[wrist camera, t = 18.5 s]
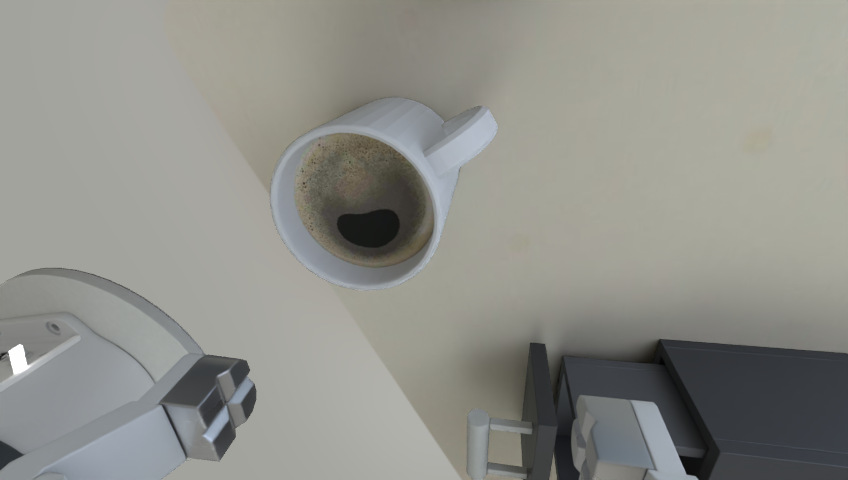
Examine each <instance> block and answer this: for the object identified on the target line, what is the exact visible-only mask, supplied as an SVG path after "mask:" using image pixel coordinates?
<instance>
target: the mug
mask: <svg viewBox="0 0 848 480" xmlns="http://www.w3.org/2000/svg"><path fill="white" fill-rule="evenodd" d="M497 128H498V126H497V124H496V122H495V120H494V118H493V116H492V114H491V113H490V111H489V109H488V107H484V106H477V107H474V108H471V109H469V110H467V111H465V112H463V113H461V114H459V115H457V116H456V117H454V118H452V119H450V120H449V121H447V122H444V121H443V120H442V119H441V118H440V116H439V115H438V114H436V113H435V112H434V111H432V110H431V109H430V108H428V107H427V106H425V105H423V104H421V103H419V102H416V101H413V100H410V99H405V98H397V97H389V98H383V99H378V100H375V101H373V102H370V103H368V104H366V105H364V106H361V107H359V108H357V109H355V110H353V111H351V112H349V113H347V114H344V115H342V116H340V117H338V118H336V119H334V120H332V121H330V122H328V123H325V124H323V125H321V126H319V127H317V128H315V129H313V130H311V131H309V132H307V133H305V134H304V135H302V136H300V137H299V138H297V139H296V140H295V141H294V142H293V143H292V144H290V145H289V146H288V148H287V149H286V150H285V151H284V153H283V154H282V155H281V157H280V159H279V161H278V163H277V165H276V166H275V169H274V173H273V176H272V179H271V186H270V207H271V212H272V217H273V220H274V223H275V226H276V228H277V231H278V233H279V235H280V237H281V239H282V241H283V242H284V244H285V245H286V247H287V248H288V249H289V251H290V252H291V253H292V254H293V255H294V257H295V258H296V259H297V260H298V261H299V262H300V263H301V264H302V265H304V266H305V267H306V268H307V269H308V270H310V271H311V272H313V273H314V274H316V275H317V276H319V277H320V278H322V279H324V280H326V281H328V282H330V283H333V284H336V285H338V286H341V287H345V288H349V289H354V290H365V291H369V290H381V289H386V288H391V287H393V286H396V285H399V284H401V283H403V282H405V281H407V280H409V279H410V278H412V277H413V276H415V275H416V274H417V273H418V272H420V271H421V270H422V269H423V268H424V267H425V265H426V264H427V263H428V262H429V261H430V259H431V257H432V256H433V254H434V252H435V251H436V248H437V245H438V243H439V240H440V237H441V233H442V230H443V227H444V223H445V220H446V217H447V213H448V210H449V207H450V203H451V200H452V197H453V193H454V190H455V187H456V183H457V180H458V175H459V168H460V167H461V166H462V165H464V164H465V163H467V162H468V161H469V160H471V159H472V158H473V157H475V156H476V155H477V154H478V153H480V152H481V151H482V150H483V149H484V148H485V147H486V146H487V145H488V144H489V143H490V142H491V141H492V139H493V138H494V136H495V134H496V131H497Z"/></svg>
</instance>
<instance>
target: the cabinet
mask: <svg viewBox="0 0 848 480" xmlns="http://www.w3.org/2000/svg"><path fill="white" fill-rule="evenodd" d="M653 364H658V365H666V366H667V368H668V370H669V372H670V374H671V376H672V378H673V380H674V381H675V383H676V385H677V387H678V389H679V391H680V393H681V395H682V397H683V399H684V401H685V403H686V405H687V407H688V409H689V411H690V413H691V414H692V416H693V418H694V420H695V422H696V424H697V426H698V428H699V430H700V432H701V434H702V436H703V438H704V440H705V442H706V444H707V446H708V448H710V449H709V451H708V453H707V456H706V458H705V461H704V463H703V465H702V468H701V470H700V472H699V475H698V477H697V478H698V479H699V480H848V354H844V353H831V352H818V351H805V350H793V349H780V348H767V347H754V346H741V345H728V344H715V343H702V342H689V341H676V340H663V339H660V340H659V343H658V347H657V350H656V354H655V357H654V361H653Z"/></svg>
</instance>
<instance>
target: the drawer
mask: <svg viewBox="0 0 848 480" xmlns="http://www.w3.org/2000/svg"><path fill="white" fill-rule="evenodd" d="M580 395H586V396H597V397H607V398H618V399H626V400H637V401H647V402H654V404H655V405H656V406H657V407H658V409H659V412H660V414H661V416H662V418H663V421H664V423H665V425H666V428H667V430H668V432H669V435H670V437H671V439H672V442H673V444H674V446H675V449H676V451H677V453H678V456H679V458H680V460H681V463H682V465H683V467H684V470H685V472H686V474H687V475H692V476H696V477H698V475H699V472H700V470H701V468H702V465H703V463H704V461H705V458H706V456H707V453H708V451H709V449H710V448H708V446H707V444H706V442H705V440H704V438H703V436H702V434H701V432H700V430H699V428H698V426H697V424H696V422H695V420H694V418H693V416H692V414H691V413H690V411H689V409H688V407H687V405H686V403H685V401H684V399H683V397H682V395H681V393H680V391H679V389H678V387H677V385H676V383H675V381H674V380H673V378H672V376H671V374H670V372H669V370H668V368H667V366H666V365H658V364H647V363H635V362H624V361H612V360H601V359H589V358H578V357H566V356H563V359H562V366H561V372H560V379H559V385H558V392H557V398H556V405H555V406H554V400H553V393H552V386H551V380H550V373H549V367H548V360H547V353H546V347H545V344H540V343H530V347H529V357H528V366H527V376H526V386H525V395H524V405H523V414H522V421H515V420H507V419H498V418H490V417H489V415H488V413H487V412H486V411H484V410H482V409H473V410H471V411H470V412H469V414H468V417H467V474H468V475H469V477H471V478H472V479H474V480H481V479H483V478H484V477H485V476H486V474H492V475H500V476H507V477H514V478H521V479H523V480H549V477H550V471H551V465H552V458H553V452H554V458H555V466H556V473H557V480H579V476H580V472H579V471H578V470H577V469H576V467H575V466H574V463H573V456H572V447H571V435H572V426H573V421H574V420H575V419H576V418H578V415H577V409H576V404H577V400H578V397H579V396H580ZM489 428H490V430H499V431H507V432H515V433H521V448H522V466H523V467H519V466H511V465H504V464H496V463H489V462H488V444H489ZM487 462H488V463H487Z"/></svg>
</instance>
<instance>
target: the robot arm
mask: <svg viewBox="0 0 848 480" xmlns="http://www.w3.org/2000/svg"><path fill="white" fill-rule="evenodd" d="M249 371H250V369H249V366H248V363H247V361H245V360H241V359H236V358H228V357H221V356H214V355H204V354H197V353H189V354H186V355H184V356H183V357H182V358H181V359H180V360H179V361H178V362H177V363H176V364H175V365H174V366H173V367H172V368H171V369H170V370H169V371H168V372H167V373H166V374H165V375H164V376H163V377H162V378H161V379H160V380H159V381H158V382H157V383H156V384H155V383H154V381H153V380H152V378H151V377H150V375H149V374H148V373H147V372H146V370H145V369H144V368H143V367H142V366H141V365H140V364H139V363H138V362H137V361H136V360H135V359H134V358H133V357H131V356H130V355H129V354H128V353H126V352H125V351H124V350H122V349H121V348H119V347H118V346H116V345H114V344H113V343H111V342H109V341H107V340H106V339H104V338H102V337H100V336H99V335H97V334H96V333H94V332H93V331H92V330H91V329H90V328H89V327H88V326H86V325H85V324H84V323H83V322H82V321H81V320H80V319H78V318H77V317H76V316H74V315H73V314H71V313H68V312H58V313H50V314H41V315H33V316H24V317H16V318H7V319H0V480H161V479H163V478H164V477H165V476H167V475H168V474H169V473H170V472H172V471H173V470H175V469H176V468H177V467H178V466H180V465H181V464H182V463H184V462H185V461H186V460H187V458H194V459H202V460H210V461H218V462H219V461H220V460H221V458H222V457H223V455H224V454H225V452H226V451H227V449H228V448H229V446H230V445H231V443H232V442H233V440H234V439H235V437H236V433H235V428H237V427H238V426H239V425H241V424H243V423H244V422H246V421H247V419H248V417H249V416H250V414H251V413H252V411H253V408H254V405H255V402H256V388H255V384H254V383H253V382H252V381H251V380H250V379H249V378H248V377H247V375H248V373H249ZM576 409H577V415H578V418H576V419H575V420H574V421H573V426H572V435H571V447H572V456H573V463H574V466H575V467H576V469H577V470H578V471H579V472H580V476H579V480H699V479H698V478H697V477H696V476H692V475H687V474H686V472H685V470H684V467H683V465H682V463H681V460H680V458H679V456H678V453H677V451H676V449H675V446H674V444H673V442H672V439H671V437H670V435H669V432H668V430H667V428H666V425H665V423H664V421H663V418H662V416H661V414H660V412H659V409H658V407H657V406H656V405H655V404H654V402H647V401H637V400H626V399H618V398H607V397H597V396H586V395H580V396H579V397H578V400H577V404H576Z"/></svg>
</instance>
